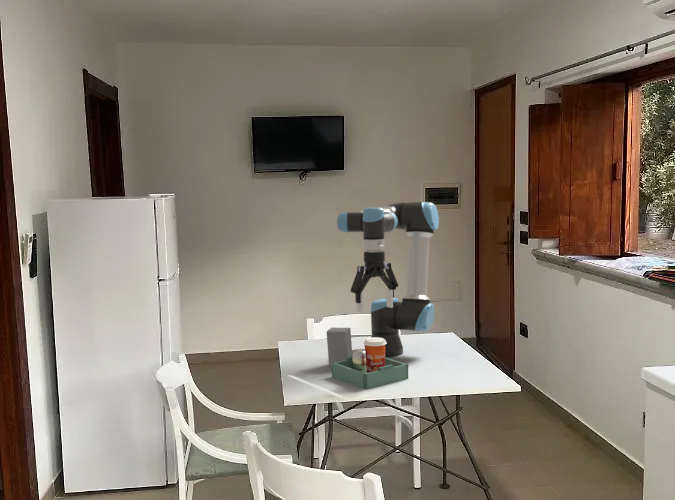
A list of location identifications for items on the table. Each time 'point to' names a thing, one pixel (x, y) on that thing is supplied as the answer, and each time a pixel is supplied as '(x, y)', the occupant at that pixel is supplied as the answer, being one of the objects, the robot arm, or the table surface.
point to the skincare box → (339, 344)
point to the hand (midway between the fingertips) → (375, 309)
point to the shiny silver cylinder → (359, 360)
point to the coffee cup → (374, 353)
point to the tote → (370, 373)
